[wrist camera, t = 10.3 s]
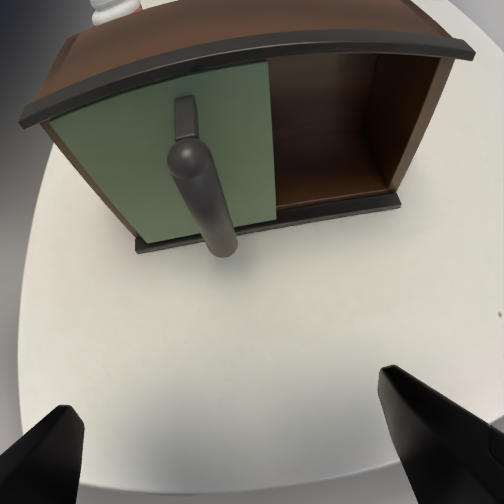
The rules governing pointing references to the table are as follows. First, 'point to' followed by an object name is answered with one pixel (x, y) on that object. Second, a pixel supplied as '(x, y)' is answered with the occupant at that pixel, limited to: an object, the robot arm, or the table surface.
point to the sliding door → (182, 153)
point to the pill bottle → (113, 9)
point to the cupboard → (281, 90)
